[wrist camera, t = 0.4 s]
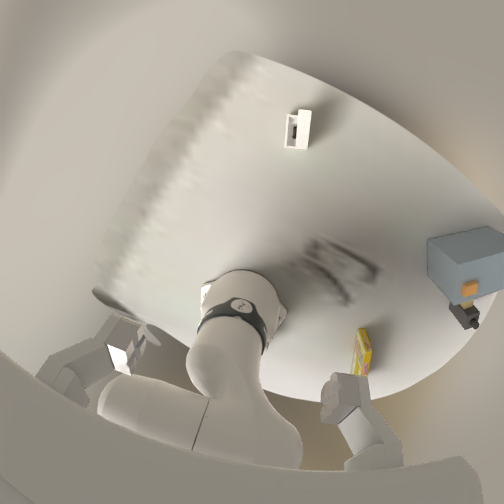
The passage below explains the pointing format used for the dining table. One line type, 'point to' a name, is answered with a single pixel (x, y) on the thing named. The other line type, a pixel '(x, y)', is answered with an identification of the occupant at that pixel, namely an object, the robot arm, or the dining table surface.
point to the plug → (466, 314)
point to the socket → (467, 263)
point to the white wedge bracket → (298, 130)
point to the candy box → (361, 354)
